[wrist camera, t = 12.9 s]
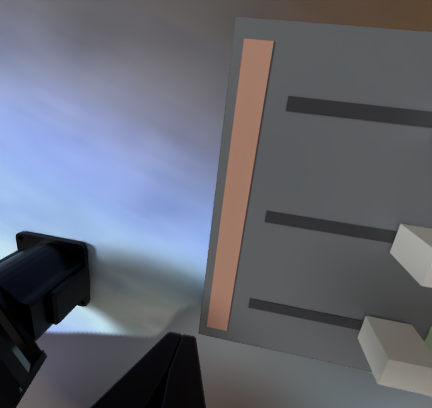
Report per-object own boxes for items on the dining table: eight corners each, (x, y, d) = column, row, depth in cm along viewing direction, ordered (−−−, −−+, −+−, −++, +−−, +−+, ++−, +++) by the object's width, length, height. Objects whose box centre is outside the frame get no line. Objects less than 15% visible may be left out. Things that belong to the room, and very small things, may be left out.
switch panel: (203, 316, 23) (198, 334, 21) (238, 28, 16) (235, 16, 14) (421, 362, 21) (437, 387, 19) (574, 56, 14) (625, 46, 12)
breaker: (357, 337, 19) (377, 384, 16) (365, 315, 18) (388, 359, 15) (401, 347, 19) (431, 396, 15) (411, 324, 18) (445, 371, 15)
